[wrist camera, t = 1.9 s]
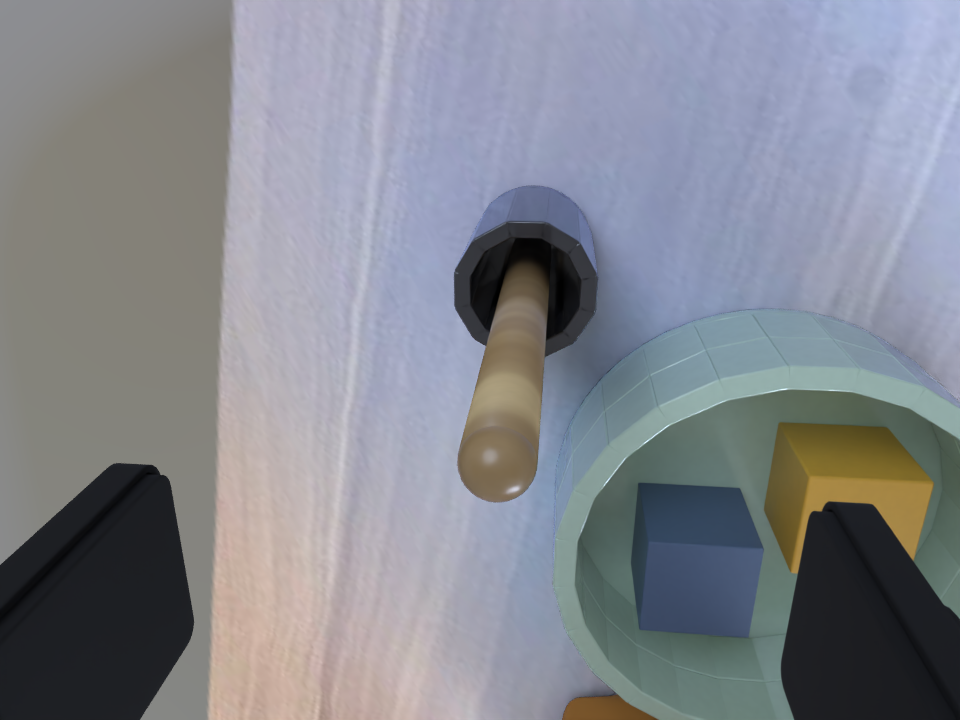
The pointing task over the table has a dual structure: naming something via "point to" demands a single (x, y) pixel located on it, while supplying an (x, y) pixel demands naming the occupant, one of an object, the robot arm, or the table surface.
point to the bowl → (729, 463)
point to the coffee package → (603, 709)
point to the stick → (510, 382)
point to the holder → (569, 272)
